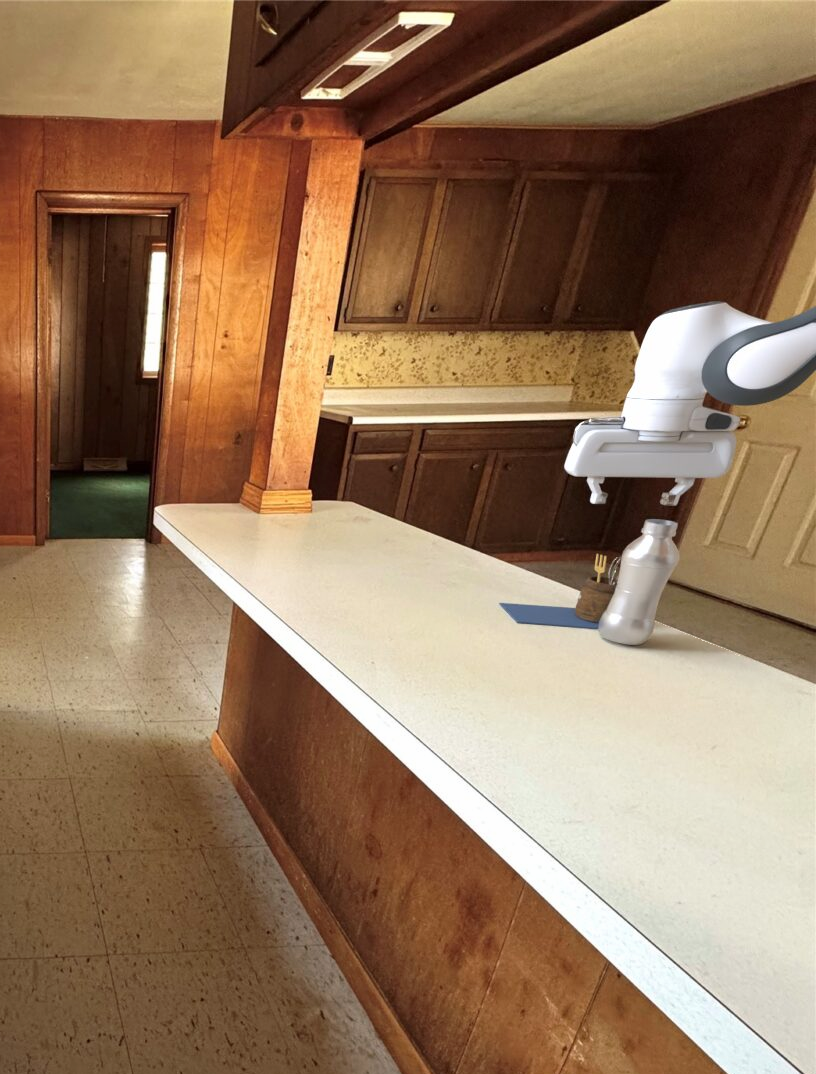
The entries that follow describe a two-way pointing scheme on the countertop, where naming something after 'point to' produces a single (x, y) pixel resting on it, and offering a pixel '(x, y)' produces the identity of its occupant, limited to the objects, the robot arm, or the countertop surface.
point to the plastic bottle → (640, 584)
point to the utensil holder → (596, 593)
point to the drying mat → (546, 615)
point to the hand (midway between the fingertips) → (632, 504)
